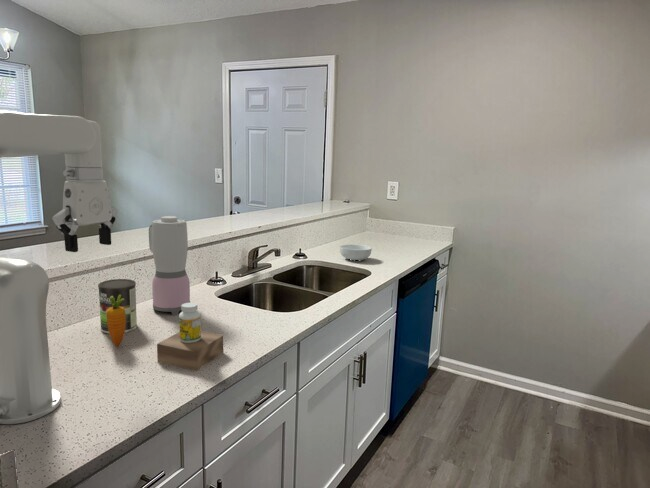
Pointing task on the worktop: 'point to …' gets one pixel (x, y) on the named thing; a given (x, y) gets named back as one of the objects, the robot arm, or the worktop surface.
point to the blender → (169, 264)
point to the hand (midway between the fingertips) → (89, 247)
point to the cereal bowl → (355, 251)
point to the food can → (115, 289)
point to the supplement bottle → (189, 323)
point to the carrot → (116, 321)
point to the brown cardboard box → (190, 351)
